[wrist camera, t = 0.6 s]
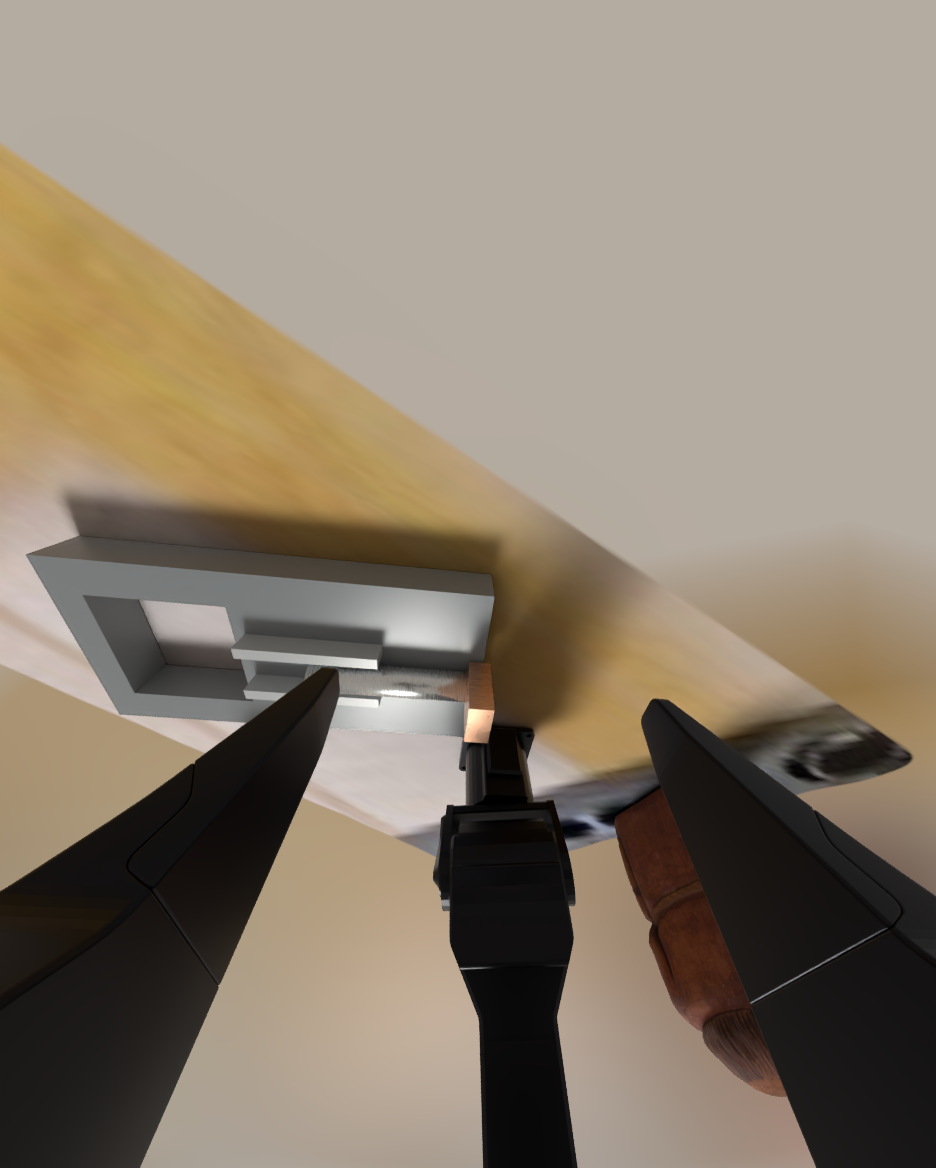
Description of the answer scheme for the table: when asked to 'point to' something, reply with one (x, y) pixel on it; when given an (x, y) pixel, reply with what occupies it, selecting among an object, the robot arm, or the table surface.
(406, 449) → the table surface
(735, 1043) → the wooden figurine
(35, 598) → the table surface
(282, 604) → the dock block
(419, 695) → the lock pin
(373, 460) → the table surface
